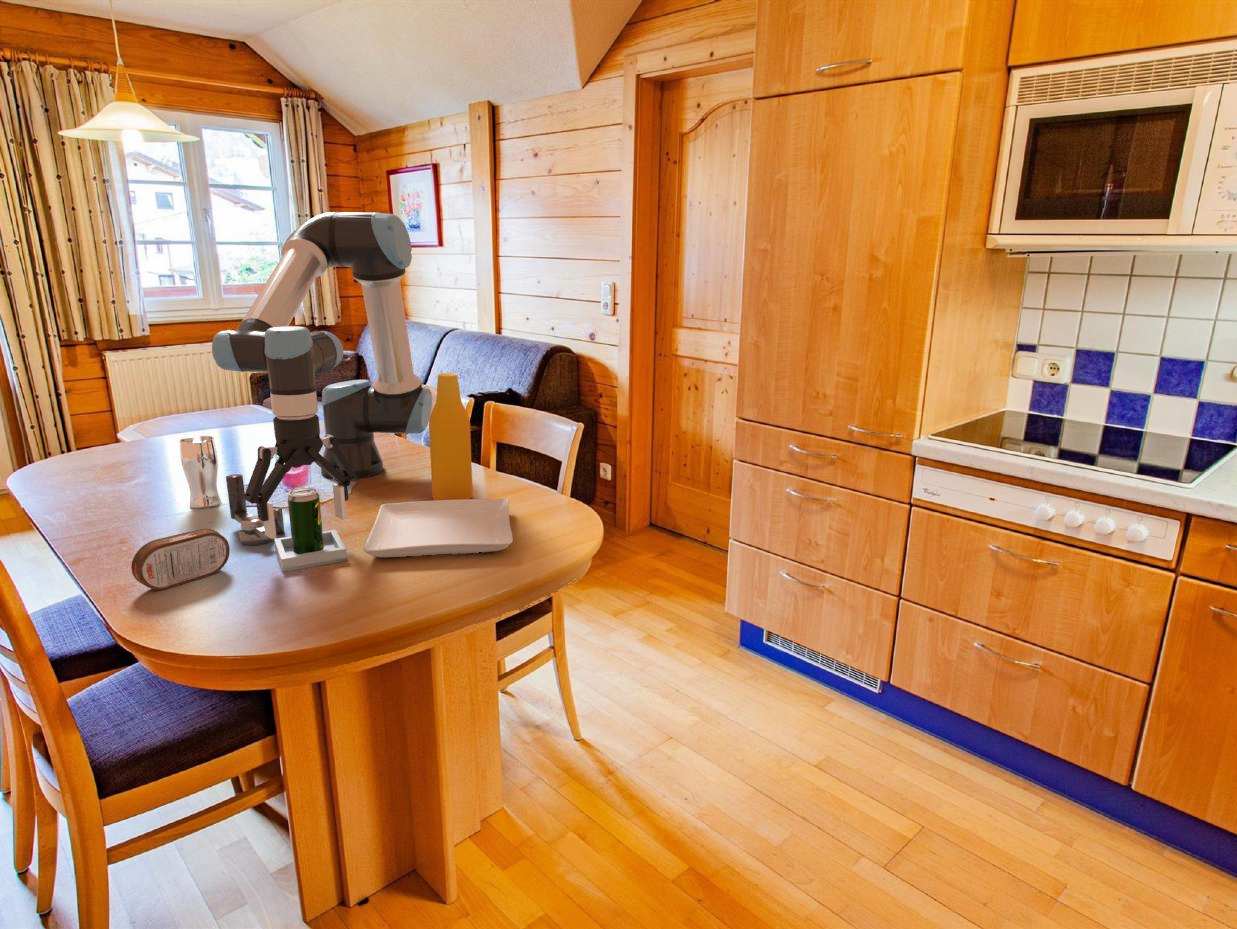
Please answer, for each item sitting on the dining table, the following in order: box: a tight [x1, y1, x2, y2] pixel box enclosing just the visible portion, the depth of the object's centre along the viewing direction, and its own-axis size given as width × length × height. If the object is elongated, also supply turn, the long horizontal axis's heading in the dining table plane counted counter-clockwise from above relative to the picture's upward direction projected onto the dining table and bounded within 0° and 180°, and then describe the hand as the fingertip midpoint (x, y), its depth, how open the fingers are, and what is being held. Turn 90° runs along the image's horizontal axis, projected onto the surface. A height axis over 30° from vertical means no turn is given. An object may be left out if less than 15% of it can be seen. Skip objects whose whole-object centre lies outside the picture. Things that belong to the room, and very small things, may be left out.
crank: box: [225, 473, 266, 537], centre depth 147 cm, size 16×5×9 cm, turn 45°
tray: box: [273, 529, 348, 573], centre depth 140 cm, size 11×11×2 cm
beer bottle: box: [428, 372, 474, 501], centre depth 170 cm, size 9×9×29 cm
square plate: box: [363, 497, 514, 558], centre depth 151 cm, size 27×27×4 cm
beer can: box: [287, 487, 324, 555], centre depth 138 cm, size 5×5×12 cm
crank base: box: [238, 507, 285, 547], centre depth 144 cm, size 19×6×5 cm, turn 120°
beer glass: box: [179, 435, 222, 510], centre depth 164 cm, size 7×7×15 cm
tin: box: [130, 527, 231, 591], centre depth 127 cm, size 15×3×8 cm, turn 142°
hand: (307, 526), depth 139 cm, fingers open, 13 cm apart
